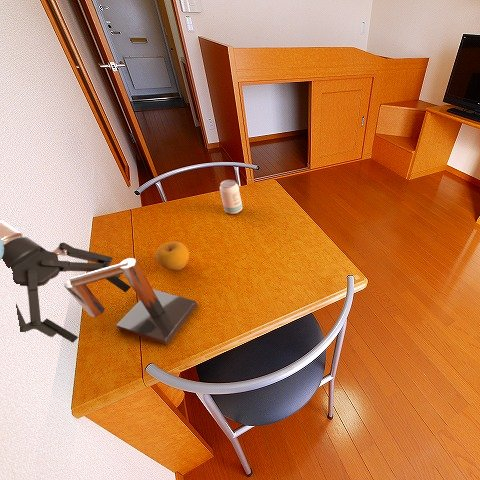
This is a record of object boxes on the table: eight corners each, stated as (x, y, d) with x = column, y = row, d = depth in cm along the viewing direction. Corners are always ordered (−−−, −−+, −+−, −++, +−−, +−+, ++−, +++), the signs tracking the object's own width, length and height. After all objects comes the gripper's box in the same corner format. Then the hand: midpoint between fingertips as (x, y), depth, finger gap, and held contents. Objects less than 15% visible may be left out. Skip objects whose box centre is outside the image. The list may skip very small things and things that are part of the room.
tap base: (197, 305, 75) (195, 300, 73) (167, 345, 66) (164, 340, 64) (153, 293, 77) (151, 288, 76) (119, 329, 68) (115, 325, 67)
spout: (163, 304, 72) (135, 255, 60) (164, 314, 70) (136, 265, 58) (104, 325, 67) (61, 275, 55) (104, 336, 65) (59, 287, 53)
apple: (155, 274, 82) (143, 252, 76) (174, 254, 89) (164, 233, 83) (182, 280, 81) (172, 258, 75) (199, 259, 88) (191, 238, 82)
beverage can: (229, 204, 112) (223, 177, 104) (245, 206, 111) (241, 180, 103) (221, 214, 107) (215, 186, 99) (238, 216, 106) (232, 189, 98)
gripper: (63, 221, 65) (141, 277, 72) (-77, 304, 47) (45, 369, 54) (68, 206, 61) (150, 268, 68) (-85, 291, 42) (50, 364, 49)
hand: (104, 312), depth 61 cm, fingers open, 13 cm apart
